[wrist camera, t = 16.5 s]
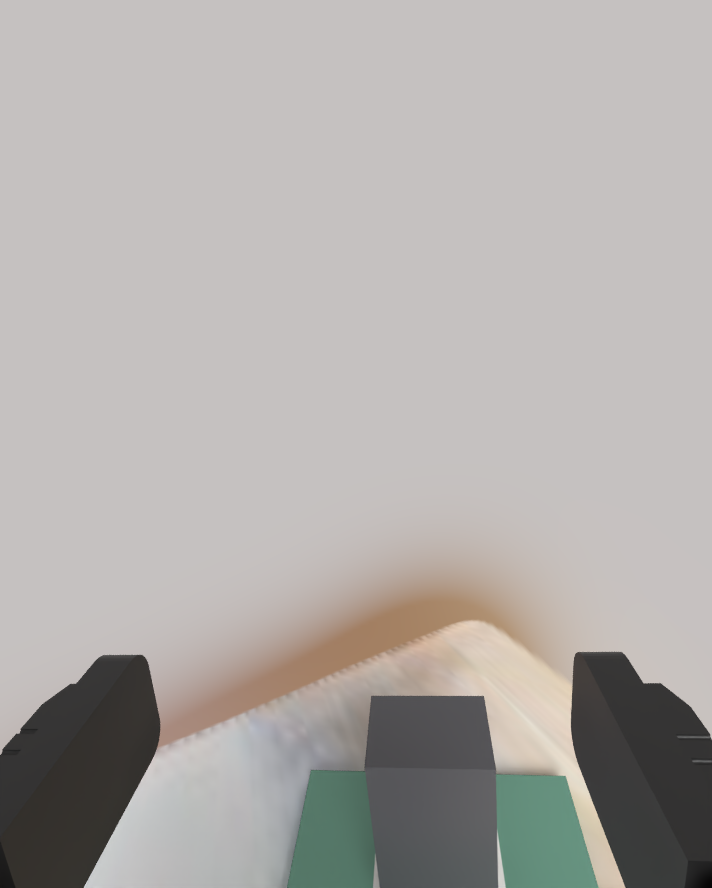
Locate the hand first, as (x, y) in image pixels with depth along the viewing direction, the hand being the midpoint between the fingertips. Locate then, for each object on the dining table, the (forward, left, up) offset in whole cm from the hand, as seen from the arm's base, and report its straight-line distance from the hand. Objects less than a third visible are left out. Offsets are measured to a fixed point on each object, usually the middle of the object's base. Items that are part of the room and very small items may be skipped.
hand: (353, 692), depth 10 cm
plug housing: (-2, +11, -23) cm, 26 cm away
